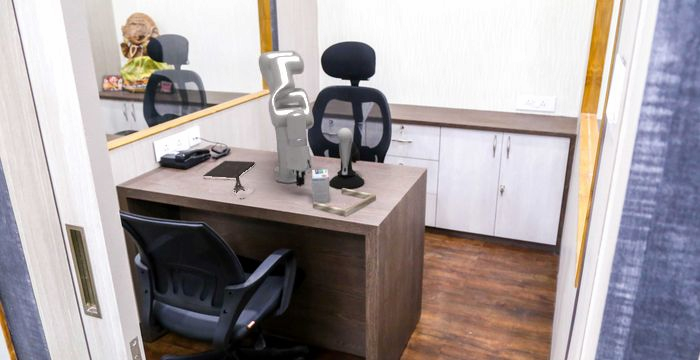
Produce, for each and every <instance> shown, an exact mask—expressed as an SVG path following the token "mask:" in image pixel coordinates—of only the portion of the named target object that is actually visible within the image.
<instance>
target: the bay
mask: <svg viewBox="0 0 700 360" xmlns="http://www.w3.org/2000/svg"><path fill="white" fill-rule="evenodd" d="M340 191H341V194H342V195H346V196H351V197H355V198H359V199H362V200H360V201H357V203H355V204H353V205H351V206H349V207H347V208H345V209H344V208H340V207H336V206H333V205H328V204H325V203H317V202H314V203H313V202H312V208H313V209H315V210H318V211H323V212H327V213H330V214H334V215H339V216H340V217H341V216H343V217H345V218H347V217H348V216H350V215H352V214H354V213H355V212H357V211H359V210H361V209H362V208H364V207H366V206H369V204H371V203H373V202H375V201H376V200H377V194H373V193H369V192H363V191H358V190H356V189H346V188H342V189H340Z"/></svg>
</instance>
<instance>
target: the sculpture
mask: <svg viewBox="0 0 700 360" xmlns="http://www.w3.org/2000/svg"><path fill="white" fill-rule="evenodd" d="M337 137H338V138H337V139H338V141H339V142H338V148H339V149H338V151H339V153H338V154H339V157H340V158H339V159H340V170H338V171H337V175H335V176H333V177H332V178H331V179H329V187H331V188H333V189H336V190H341V189H342V188H346V189H350V190H357V189H359V188H362V187H363V186H364V185H365V180H364V179H363V178H362V177H361V175H358V174H356V173H357V172H356V170H354V169H353V164H356V163H357V162H360V158H361V157H360V154H361V153H360V149H359V148H357V144H356V143H355V142H354V141H353V132H352V130H351V129H350V128H348V127H342V128H341V129H339V130H338V131H337Z"/></svg>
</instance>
